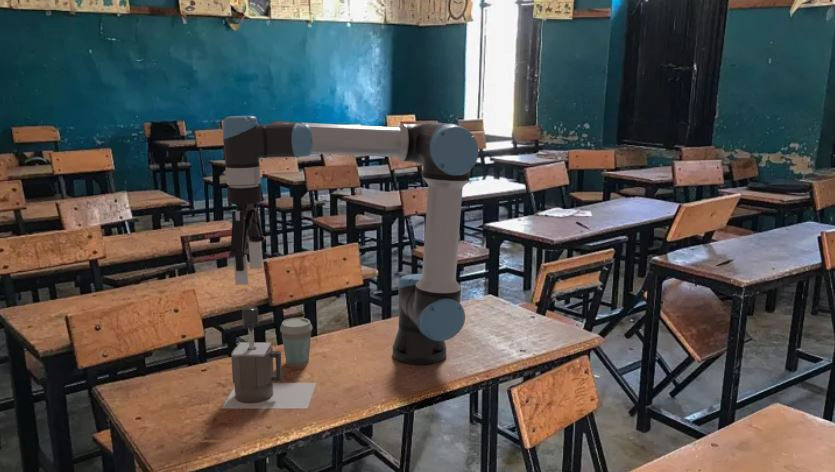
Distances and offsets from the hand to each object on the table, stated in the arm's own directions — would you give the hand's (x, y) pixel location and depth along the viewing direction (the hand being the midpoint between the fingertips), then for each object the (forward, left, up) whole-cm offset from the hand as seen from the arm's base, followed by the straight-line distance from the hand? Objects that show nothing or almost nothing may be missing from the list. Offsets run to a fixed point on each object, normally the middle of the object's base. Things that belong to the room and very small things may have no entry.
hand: (249, 276), depth 159 cm
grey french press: (-1, 0, -30) cm, 30 cm away
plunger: (0, 0, -25) cm, 25 cm away
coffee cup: (-7, -20, -31) cm, 37 cm away
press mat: (-4, 0, -30) cm, 31 cm away
